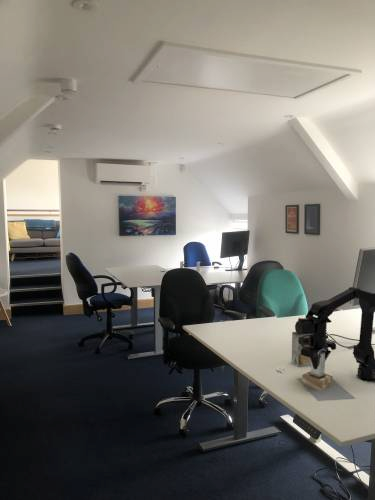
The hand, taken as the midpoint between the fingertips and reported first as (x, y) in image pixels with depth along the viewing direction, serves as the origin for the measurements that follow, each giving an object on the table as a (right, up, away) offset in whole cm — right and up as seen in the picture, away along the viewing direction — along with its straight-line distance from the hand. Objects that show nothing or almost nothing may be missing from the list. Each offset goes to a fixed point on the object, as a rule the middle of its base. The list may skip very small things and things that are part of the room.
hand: (317, 367), depth 173 cm
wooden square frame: (0, -7, +1) cm, 7 cm away
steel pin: (0, -3, 0) cm, 3 cm away
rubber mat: (+2, -8, -3) cm, 9 cm away
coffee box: (0, -6, +24) cm, 25 cm away
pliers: (-14, -7, +11) cm, 19 cm away
